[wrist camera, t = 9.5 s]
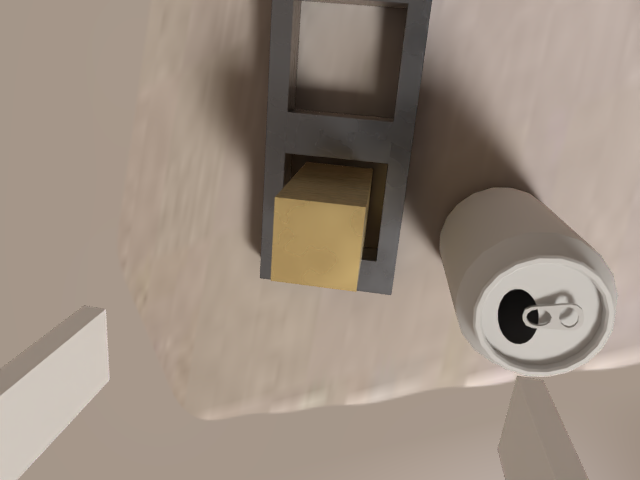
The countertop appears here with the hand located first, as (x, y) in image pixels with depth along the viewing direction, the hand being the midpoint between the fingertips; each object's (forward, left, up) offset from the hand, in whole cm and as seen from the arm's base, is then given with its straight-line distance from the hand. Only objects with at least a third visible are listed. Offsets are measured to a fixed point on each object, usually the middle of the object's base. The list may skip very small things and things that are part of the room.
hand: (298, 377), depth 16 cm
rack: (+1, -5, -20) cm, 21 cm away
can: (-10, +1, -20) cm, 23 cm away
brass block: (+1, -1, -20) cm, 20 cm away
